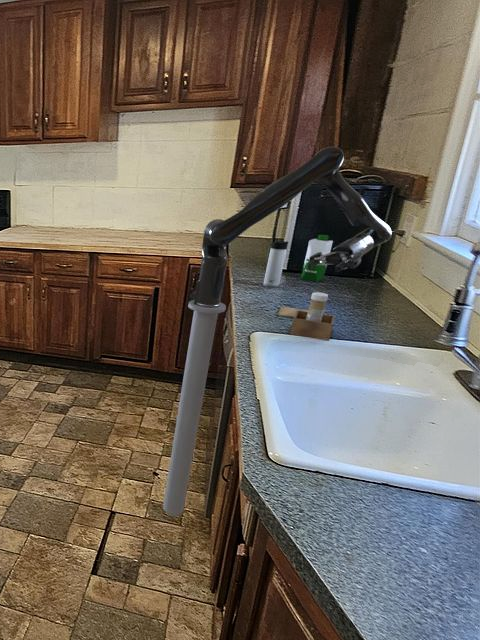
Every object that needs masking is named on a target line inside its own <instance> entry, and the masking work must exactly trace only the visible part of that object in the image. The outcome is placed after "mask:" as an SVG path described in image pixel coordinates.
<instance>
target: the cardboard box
mask: <svg viewBox="0 0 480 640" xmlns="http://www.w3.org/2000/svg"><path fill="white" fill-rule="evenodd" d="M307 314H308V312H306V311H299V310H297V312H296V314H295V317H294V318H292V319H293V320H292V324H291V328H290V333H289V335H292V336H298V337H304V338H309V339H315V340H320V341H321V340H322V341H327V342H329V341H330V339H331V334H332V330H333V327H334V322H335V318H336V316H335V315H332V314H326V313H325V314H324V313H323V316H322V320H321V322H316V321H309V320H306V318H307ZM321 336H322V337H321ZM327 337H328V338H327Z"/></svg>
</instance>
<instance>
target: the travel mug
mask: <svg viewBox="0 0 480 640" xmlns="http://www.w3.org/2000/svg"><path fill="white" fill-rule="evenodd" d="M288 245H289V241H272V242H271V245H270V250H269V255H268V259H267V265H266V270H265V275H264V280H263V284H262V285H263V286H264V287H265V288H271V289H276V288H279V287H280V284H281V283H280V282H281V278H282V274H283V269H284V264H285V260H286V255H287V250H288Z"/></svg>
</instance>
